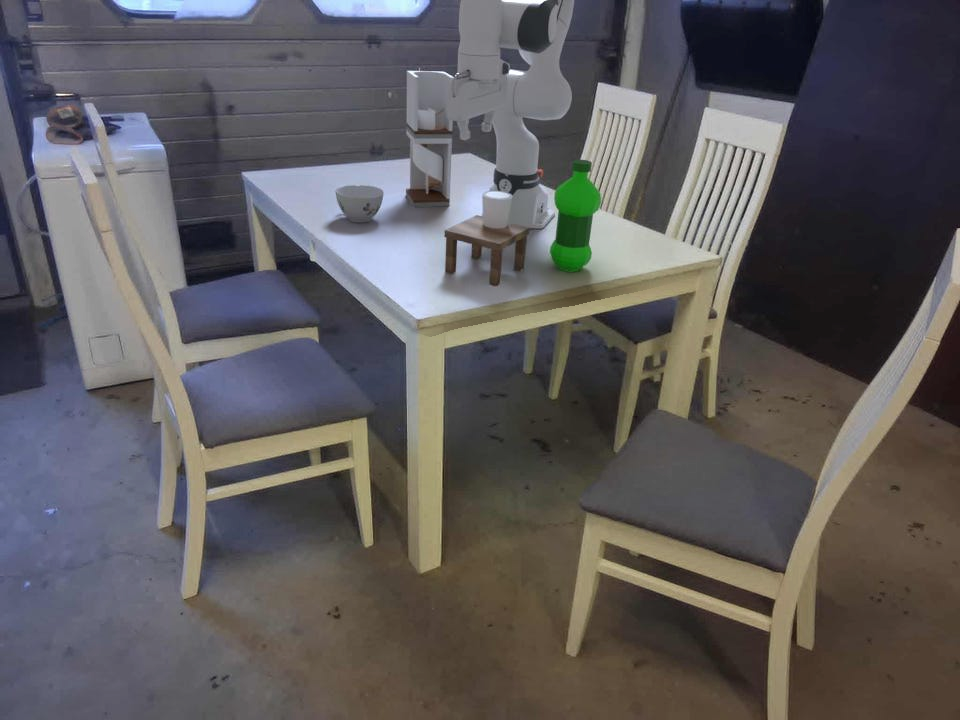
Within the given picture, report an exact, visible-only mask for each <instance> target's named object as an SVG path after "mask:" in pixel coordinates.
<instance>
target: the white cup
mask: <svg viewBox="0 0 960 720" xmlns="http://www.w3.org/2000/svg"><path fill="white" fill-rule="evenodd" d="M481 197H482V199H481V200H482V202H481V203H482V213H483V215H482V216H483V225H484V226H486V227H489V228H496V229H499V228H505V227H507V224H508V219H509V213H510V208H511V202H512V197H513V196H512V195H511V194H510V193H507V192H503V191H489V190H486V191H483V192H482V193H481Z"/></svg>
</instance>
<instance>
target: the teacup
mask: <svg viewBox="0 0 960 720" xmlns="http://www.w3.org/2000/svg"><path fill="white" fill-rule="evenodd" d="M384 195H385V194H384V190H383V189H382V188H379V187H377V186H374V185H364V184H360V185H355V184H351V185H350V184H348V185H343V186H341V187H338V188H336V189H335V197H336V201H337V202H336V203H337V204H338V207H339V209H340V210H341V212H342V213H343V215H345V217H346V218H348V220H349V221H350V222H353V223H367V222H371V221H372V218H374V217H375V216H376V215H377V213H378V212H379V210H380V208H381V206H382V203H383V200H384V199H383V198H384Z"/></svg>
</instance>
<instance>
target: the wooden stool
mask: <svg viewBox="0 0 960 720" xmlns="http://www.w3.org/2000/svg"><path fill="white" fill-rule="evenodd" d="M528 235H530V228H529V227H525V226H521V225H516V224H512V223H508V224H507V227H505V228H499V229H496V228H489V227H486V226H484V225H483V215H478V214H477V215H475V216H474V215H473V216H472V217H470V218H468V219H465V220H462V221H461V222H459V223H457V224H455V225H452V226H451V227H449V228H446V229H444V238H445V262H444V263H445V264H444V272H445V273H446V274H450V275H452V274H455V273H456V272H457V259H458V258H457V255H458V254H457V253H458V242H462V243H466V244H470V245H471V252H470V254H471V255H470V257H471V258H470V259H475V260H479V259H481V258H482V251H483V248H485V249H488V250H489V249H490V250H491V252H490V263H489V264H490V267H489V279H488V285H490V286H492V287H493V286H494V287H498V286H499V285H501V277H502V265H503V264H502V263H503V251H504V249H506V248H508V247H509V246H511V245H513V244H514V243H515V249H514V261H513V270H515V271H522V270H524V269H525V262H526V261H525V260H526V250H527V238H528Z"/></svg>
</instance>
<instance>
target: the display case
mask: <svg viewBox="0 0 960 720" xmlns="http://www.w3.org/2000/svg"><path fill="white" fill-rule="evenodd" d="M454 77H455V76H453V75H450V74H449V73H447V72H445V71H431V70H430V71H429V70H406V125H405V126H406V130H405V132H406V136H407V137H408V138H409V140H410V141H409V142H410V143H409V146H410V147H409V153H410V154H409V159H410V160H409V188H405V196H406V198H407V199H408V201H409V202H410V204H411V206H412V207H414V208H416V207H417V208H419V207H422V208H423V207H425V208H426V207H449V206H451V205H450V203H451V202H450V201H451V200H450V199H451V177H452V149H453V148H452V147H453V126H454V125H453V124H454V123H453V122H454V121H453V120H449V119H448V117H447V115H446V108H447V97H448V89H449V86H450V83H451V82H452V80H453V78H454Z"/></svg>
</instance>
